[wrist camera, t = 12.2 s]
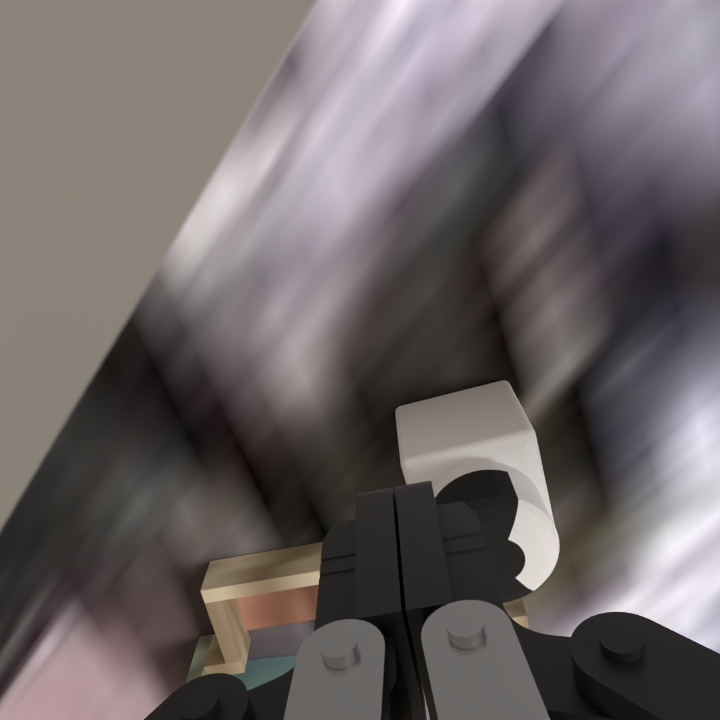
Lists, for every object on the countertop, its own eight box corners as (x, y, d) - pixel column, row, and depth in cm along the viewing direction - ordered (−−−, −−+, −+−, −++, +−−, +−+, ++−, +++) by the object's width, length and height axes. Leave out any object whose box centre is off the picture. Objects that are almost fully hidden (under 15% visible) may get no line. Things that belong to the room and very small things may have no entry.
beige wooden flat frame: (505, 510, 45) (520, 552, 41) (544, 763, 53) (559, 820, 49) (174, 567, 46) (155, 613, 42) (259, 803, 54) (251, 862, 50)
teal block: (325, 650, 49) (321, 701, 45) (336, 703, 51) (333, 757, 47) (229, 660, 50) (217, 712, 45) (243, 712, 51) (232, 767, 47)
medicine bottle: (420, 502, 45) (441, 636, 33) (393, 405, 42) (404, 515, 31) (529, 476, 44) (586, 605, 33) (507, 376, 42) (561, 478, 30)
